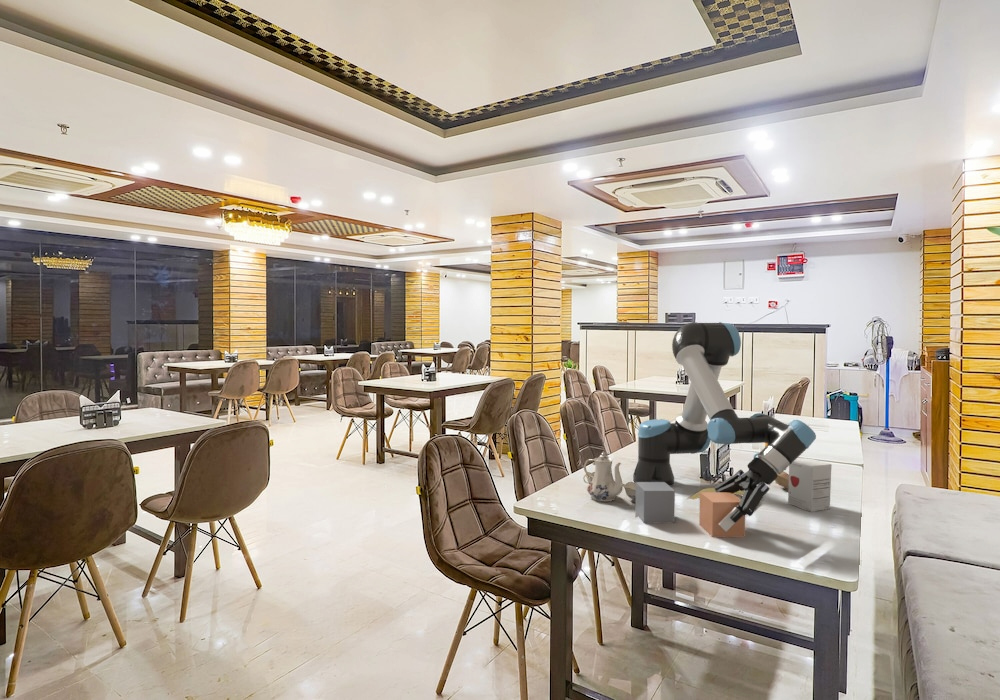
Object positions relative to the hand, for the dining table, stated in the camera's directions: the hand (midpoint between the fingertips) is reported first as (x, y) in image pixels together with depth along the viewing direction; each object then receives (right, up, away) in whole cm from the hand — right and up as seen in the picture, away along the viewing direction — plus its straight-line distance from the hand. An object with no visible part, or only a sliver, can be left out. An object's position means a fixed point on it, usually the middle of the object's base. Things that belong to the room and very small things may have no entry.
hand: (712, 519), depth 150 cm
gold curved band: (+13, -4, +27) cm, 30 cm away
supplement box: (+42, -4, +26) cm, 50 cm away
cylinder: (+48, -3, +63) cm, 79 cm away
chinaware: (-22, -4, +36) cm, 42 cm away
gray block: (-13, -4, +10) cm, 17 cm away
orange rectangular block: (+3, -5, 0) cm, 5 cm away
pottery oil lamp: (+45, -3, +44) cm, 63 cm away
